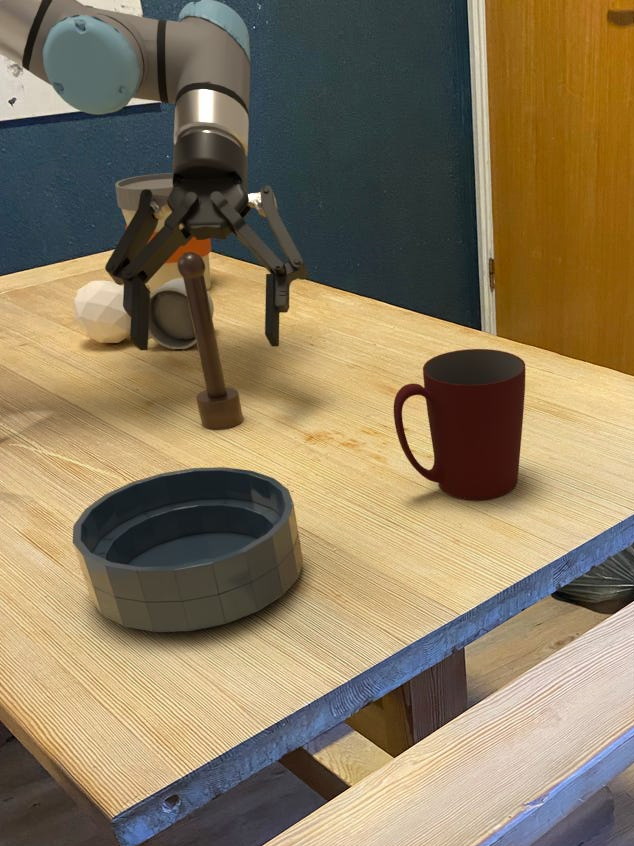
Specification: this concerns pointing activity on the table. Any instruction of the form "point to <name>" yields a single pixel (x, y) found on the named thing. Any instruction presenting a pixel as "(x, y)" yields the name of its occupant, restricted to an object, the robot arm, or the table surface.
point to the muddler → (208, 351)
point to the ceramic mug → (172, 316)
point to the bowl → (189, 548)
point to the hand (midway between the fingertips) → (205, 342)
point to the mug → (470, 421)
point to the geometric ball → (102, 312)
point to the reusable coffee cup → (160, 224)
